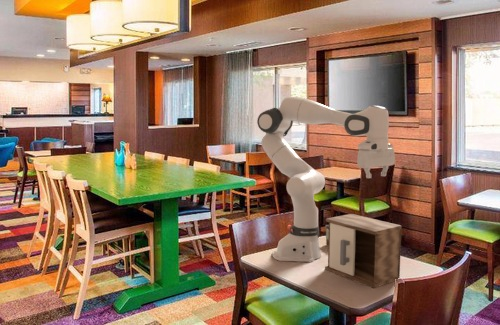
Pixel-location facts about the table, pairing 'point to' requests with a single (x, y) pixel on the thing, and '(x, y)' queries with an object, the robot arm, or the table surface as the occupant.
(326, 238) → the food container
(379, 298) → the table surface
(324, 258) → the table surface
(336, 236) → the sliding door
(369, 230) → the cabinet
